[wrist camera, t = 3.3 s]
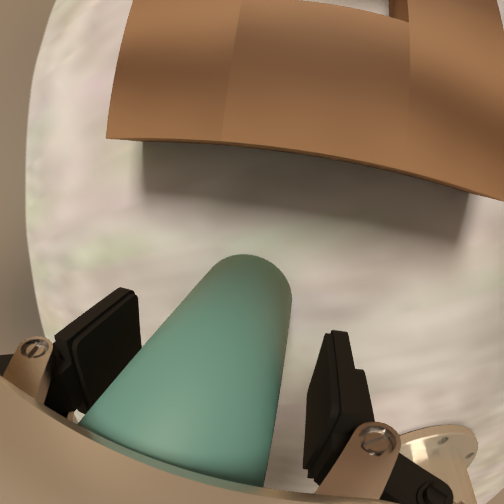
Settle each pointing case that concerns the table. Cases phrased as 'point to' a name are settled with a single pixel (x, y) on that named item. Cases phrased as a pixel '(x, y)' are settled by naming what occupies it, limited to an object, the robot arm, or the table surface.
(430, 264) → the table surface
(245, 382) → the peg
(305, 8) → the socket board
